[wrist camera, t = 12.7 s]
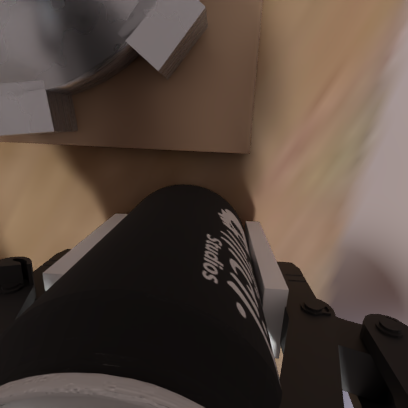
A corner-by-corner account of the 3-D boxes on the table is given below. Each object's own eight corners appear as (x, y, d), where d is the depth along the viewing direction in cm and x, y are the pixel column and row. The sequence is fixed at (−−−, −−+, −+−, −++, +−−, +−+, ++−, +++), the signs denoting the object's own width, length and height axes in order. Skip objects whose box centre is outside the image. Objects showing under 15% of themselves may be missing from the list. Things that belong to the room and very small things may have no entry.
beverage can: (148, 165, 15) (-105, 295, 3) (260, 203, 15) (399, 453, 3) (120, 266, 17) (-108, 584, 5) (221, 299, 17) (226, 674, 5)
